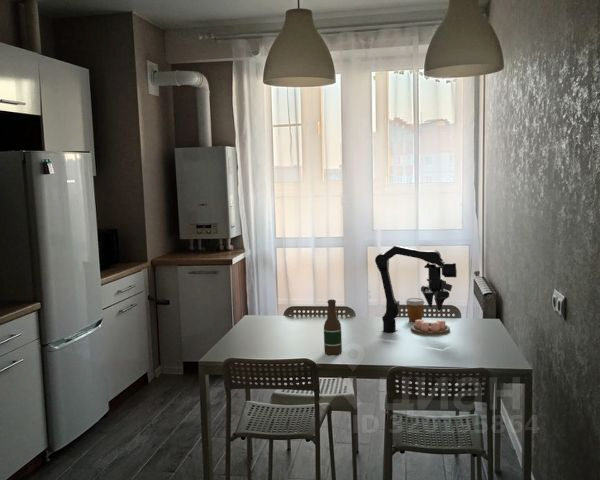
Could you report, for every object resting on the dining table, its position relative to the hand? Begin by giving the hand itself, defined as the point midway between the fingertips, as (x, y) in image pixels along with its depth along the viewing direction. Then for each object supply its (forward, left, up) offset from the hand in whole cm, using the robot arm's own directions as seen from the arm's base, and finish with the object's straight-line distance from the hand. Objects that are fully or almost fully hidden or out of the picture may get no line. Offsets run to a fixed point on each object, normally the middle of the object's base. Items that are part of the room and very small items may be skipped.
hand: (434, 309), depth 291 cm
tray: (+3, +4, -12) cm, 14 cm away
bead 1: (0, 0, -12) cm, 12 cm away
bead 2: (+5, -1, -12) cm, 13 cm away
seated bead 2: (-2, +4, -12) cm, 13 cm away
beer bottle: (-53, +21, -13) cm, 59 cm away
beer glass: (+16, +20, -13) cm, 29 cm away
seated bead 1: (0, +9, -12) cm, 15 cm away
